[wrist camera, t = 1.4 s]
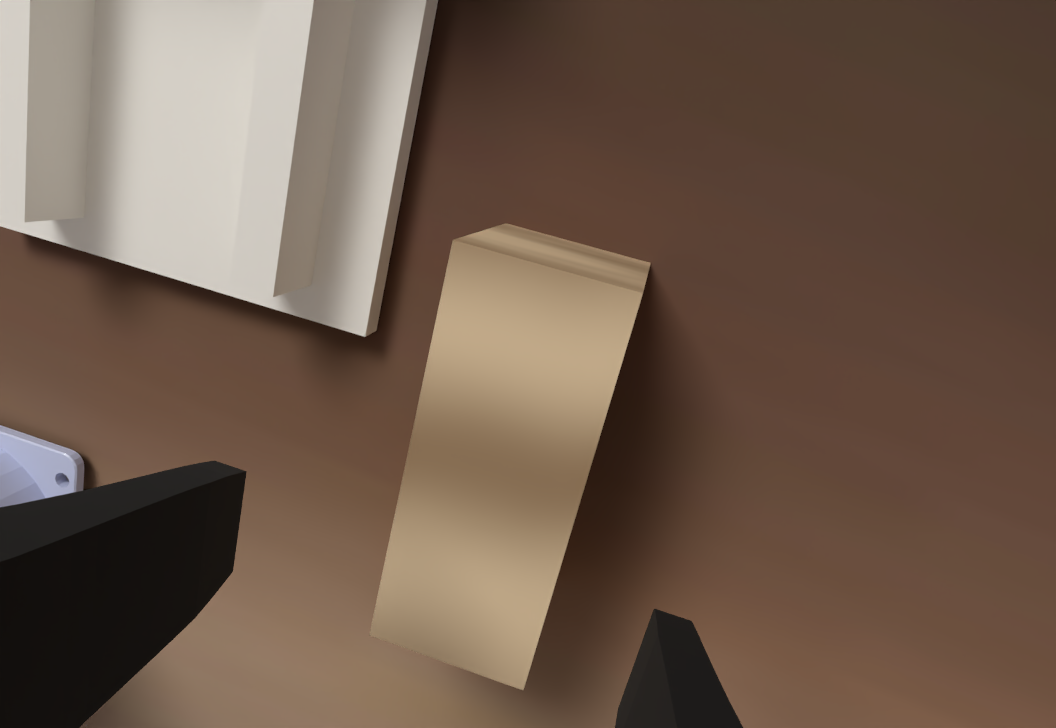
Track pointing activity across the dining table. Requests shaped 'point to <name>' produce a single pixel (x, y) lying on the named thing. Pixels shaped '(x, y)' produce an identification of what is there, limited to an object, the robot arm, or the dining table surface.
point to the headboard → (218, 140)
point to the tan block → (503, 444)
